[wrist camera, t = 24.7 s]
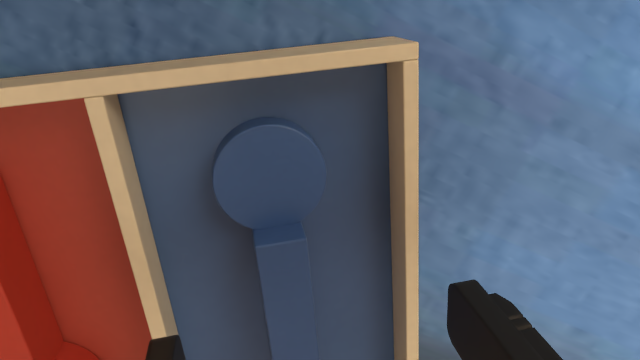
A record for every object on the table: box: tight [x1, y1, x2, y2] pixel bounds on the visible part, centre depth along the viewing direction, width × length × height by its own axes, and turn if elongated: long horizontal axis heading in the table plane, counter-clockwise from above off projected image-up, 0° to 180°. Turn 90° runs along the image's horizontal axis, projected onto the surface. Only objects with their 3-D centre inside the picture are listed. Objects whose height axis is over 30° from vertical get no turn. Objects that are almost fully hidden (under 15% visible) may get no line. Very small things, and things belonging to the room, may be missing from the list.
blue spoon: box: [212, 117, 327, 360], centre depth 19 cm, size 12×4×2 cm, turn 5°
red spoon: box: [0, 175, 99, 360], centre depth 18 cm, size 12×4×2 cm, turn 5°
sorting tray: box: [0, 36, 419, 360], centre depth 19 cm, size 18×22×3 cm
